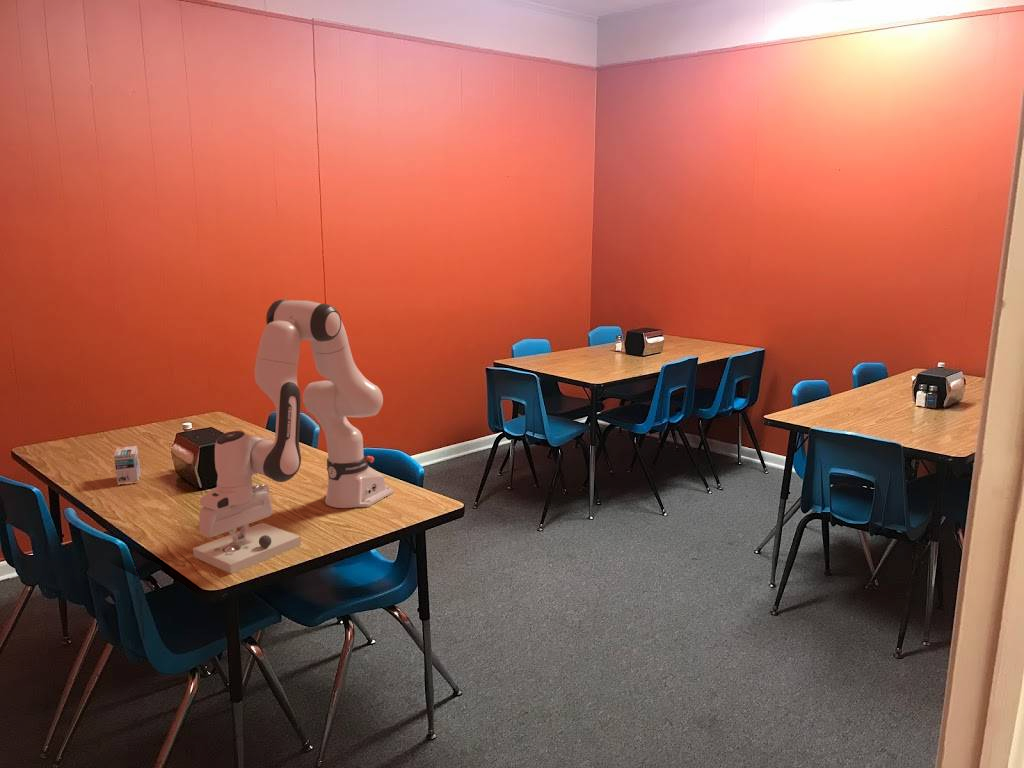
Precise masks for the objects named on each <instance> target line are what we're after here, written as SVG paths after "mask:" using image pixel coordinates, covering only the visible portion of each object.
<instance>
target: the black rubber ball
mask: <svg viewBox="0 0 1024 768" xmlns="http://www.w3.org/2000/svg"><path fill="white" fill-rule="evenodd" d="M259 544H260V546H261V547H268V546H269V545H270V544H271V538H270V537H269V536H267V535H264V536H262V537H261V538H260V539H259Z"/></svg>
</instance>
